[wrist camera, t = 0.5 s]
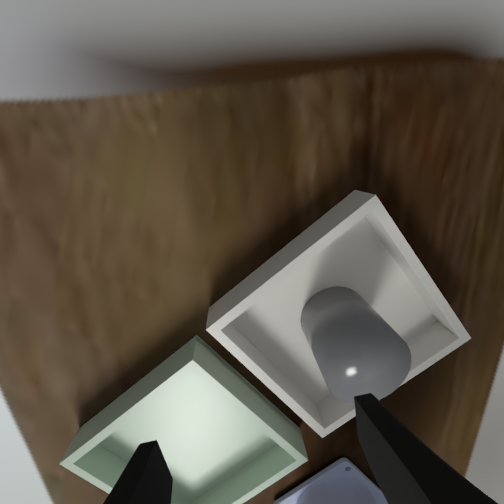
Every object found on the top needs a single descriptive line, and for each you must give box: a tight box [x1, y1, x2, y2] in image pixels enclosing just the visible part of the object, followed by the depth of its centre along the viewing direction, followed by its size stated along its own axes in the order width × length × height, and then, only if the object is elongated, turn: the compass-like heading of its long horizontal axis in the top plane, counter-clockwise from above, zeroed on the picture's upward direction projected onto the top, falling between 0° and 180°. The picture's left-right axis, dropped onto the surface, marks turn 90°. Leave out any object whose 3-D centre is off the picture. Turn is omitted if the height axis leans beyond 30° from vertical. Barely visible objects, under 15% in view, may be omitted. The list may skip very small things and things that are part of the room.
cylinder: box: [301, 286, 411, 403], centre depth 17 cm, size 5×5×5 cm
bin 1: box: [59, 335, 308, 504], centre depth 21 cm, size 12×12×3 cm
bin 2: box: [206, 190, 471, 438], centre depth 19 cm, size 12×12×3 cm
